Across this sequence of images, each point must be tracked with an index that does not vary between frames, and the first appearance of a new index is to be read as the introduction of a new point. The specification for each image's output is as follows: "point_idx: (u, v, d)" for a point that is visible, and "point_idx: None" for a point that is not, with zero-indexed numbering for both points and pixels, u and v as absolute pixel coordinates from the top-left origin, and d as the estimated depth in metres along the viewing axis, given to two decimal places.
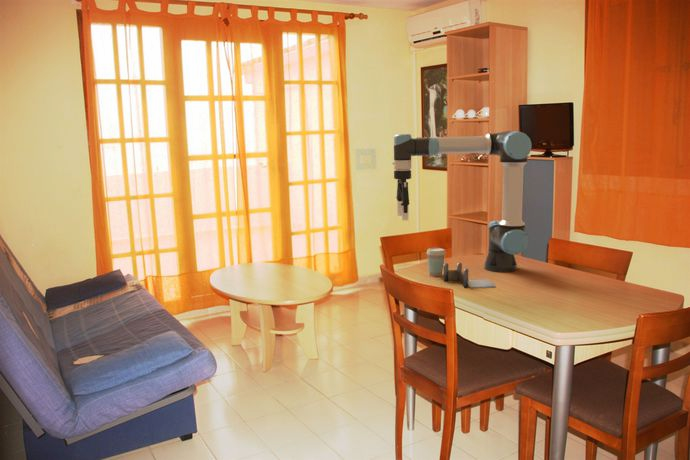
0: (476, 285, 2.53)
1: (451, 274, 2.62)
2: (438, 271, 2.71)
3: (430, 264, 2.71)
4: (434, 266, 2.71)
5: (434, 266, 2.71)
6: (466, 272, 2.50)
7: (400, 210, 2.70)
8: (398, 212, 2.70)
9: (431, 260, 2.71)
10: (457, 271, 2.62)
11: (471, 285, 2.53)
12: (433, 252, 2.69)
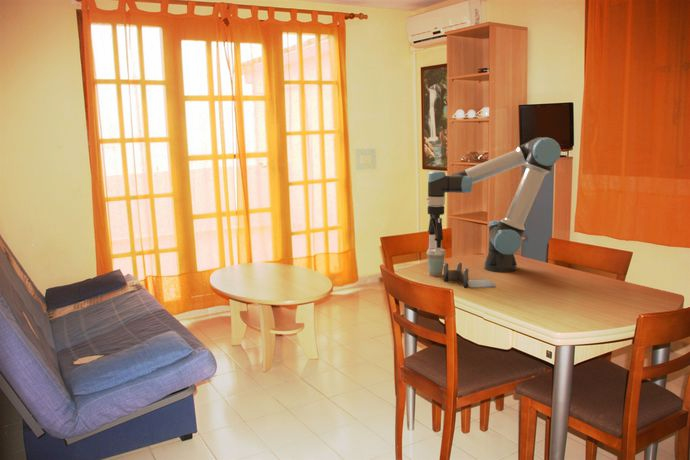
0: (476, 285, 2.53)
1: (451, 274, 2.62)
2: (438, 271, 2.71)
3: (430, 264, 2.71)
4: (434, 266, 2.71)
5: (434, 266, 2.71)
6: (466, 272, 2.50)
7: (432, 243, 2.79)
8: (430, 245, 2.79)
9: (431, 260, 2.71)
10: (457, 271, 2.62)
11: (471, 285, 2.53)
12: (433, 252, 2.69)
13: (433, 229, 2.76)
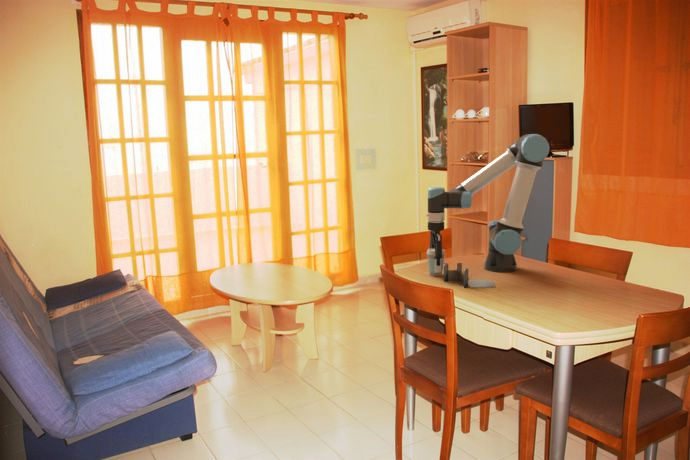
0: (476, 285, 2.53)
1: (451, 274, 2.62)
2: None
3: (430, 264, 2.71)
4: (434, 266, 2.71)
5: (434, 266, 2.71)
6: (466, 272, 2.50)
7: None
8: None
9: (431, 260, 2.71)
10: (457, 271, 2.62)
11: (471, 285, 2.53)
12: (433, 252, 2.69)
13: (434, 247, 2.76)
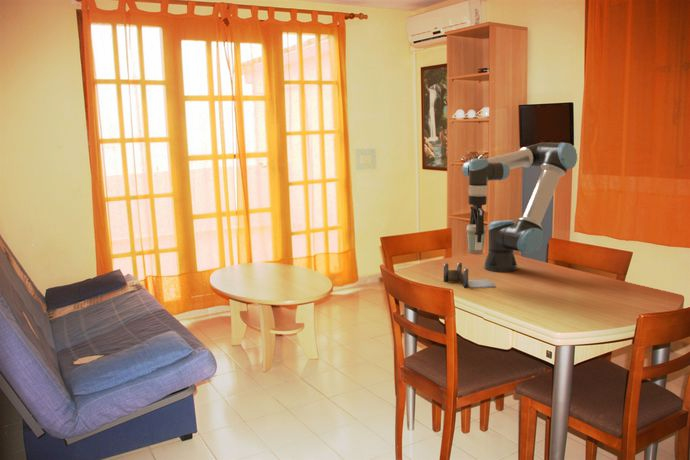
0: (476, 285, 2.53)
1: (451, 274, 2.62)
2: None
3: (470, 241, 2.54)
4: (474, 243, 2.53)
5: None
6: (466, 272, 2.50)
7: None
8: None
9: (471, 236, 2.53)
10: (457, 271, 2.62)
11: (471, 285, 2.53)
12: (474, 228, 2.52)
13: (475, 223, 2.58)
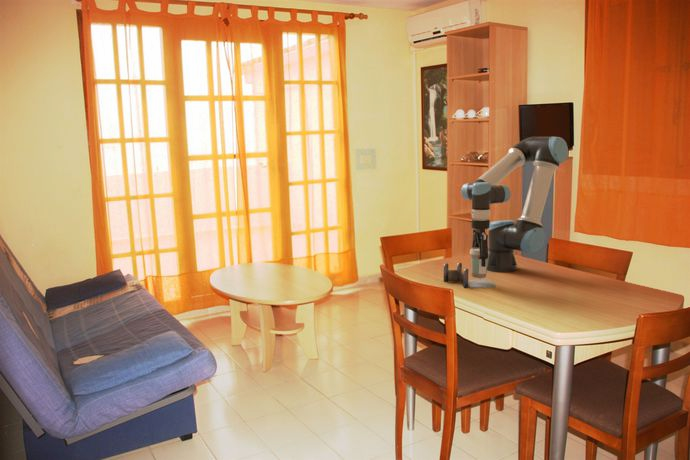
0: (476, 285, 2.53)
1: (451, 274, 2.62)
2: None
3: (474, 265, 2.53)
4: (478, 266, 2.52)
5: (478, 267, 2.52)
6: (466, 272, 2.50)
7: None
8: None
9: (475, 260, 2.52)
10: (457, 271, 2.62)
11: (471, 285, 2.53)
12: (477, 252, 2.51)
13: (477, 246, 2.58)
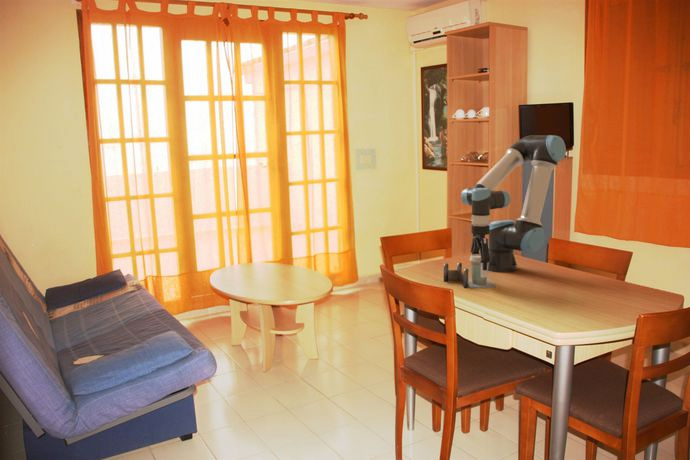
0: (476, 285, 2.53)
1: (451, 274, 2.62)
2: (483, 279, 2.53)
3: (474, 271, 2.54)
4: (478, 273, 2.53)
5: (479, 274, 2.53)
6: (466, 272, 2.50)
7: None
8: None
9: (475, 267, 2.53)
10: (457, 271, 2.62)
11: (471, 285, 2.53)
12: (477, 259, 2.51)
13: (477, 249, 2.59)
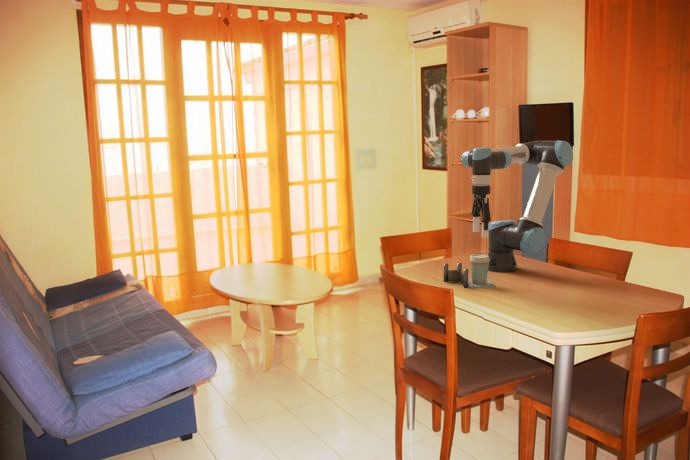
0: (476, 285, 2.53)
1: (451, 274, 2.62)
2: (483, 279, 2.53)
3: (474, 271, 2.54)
4: (478, 273, 2.53)
5: (479, 274, 2.53)
6: (466, 272, 2.50)
7: (476, 226, 2.59)
8: (474, 228, 2.59)
9: (475, 267, 2.53)
10: (457, 271, 2.62)
11: (471, 285, 2.53)
12: (477, 259, 2.51)
13: (477, 211, 2.57)
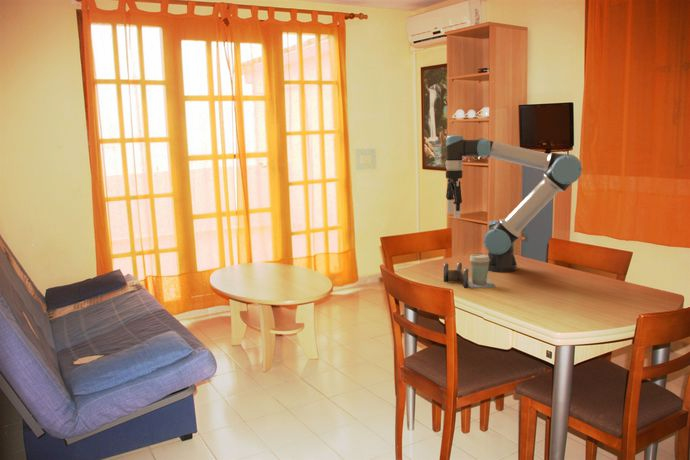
0: (476, 285, 2.53)
1: (451, 274, 2.62)
2: (483, 279, 2.53)
3: (474, 271, 2.54)
4: (478, 273, 2.53)
5: (479, 274, 2.53)
6: (466, 272, 2.50)
7: (450, 208, 2.80)
8: (448, 210, 2.81)
9: (475, 267, 2.53)
10: (457, 271, 2.62)
11: (471, 285, 2.53)
12: (477, 259, 2.51)
13: (451, 194, 2.78)
